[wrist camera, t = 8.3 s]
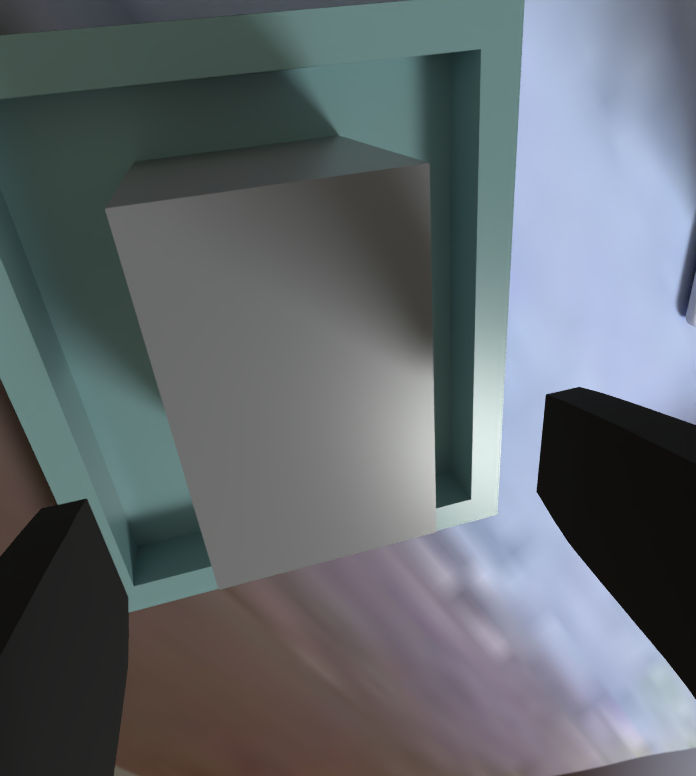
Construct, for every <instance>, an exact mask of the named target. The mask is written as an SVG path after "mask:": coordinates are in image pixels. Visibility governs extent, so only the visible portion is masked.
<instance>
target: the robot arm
mask: <svg viewBox="0 0 696 776" xmlns="http://www.w3.org/2000/svg"><path fill="white" fill-rule="evenodd" d="M686 320H687V323H689V324H690V325H692V326H694V327H696V273H695V277H694V282H693V286H692V291H691V295H690V300H689V304H688V309H687V313H686ZM537 493H538V495H539V496H540V498H541V500H542V501H543V503H544V505H545V506H546V508H547V510H548V511H549V513H550V515H551V516H552V518H553V520H554V521H555V523H556V524H557V526H558V527H559V529H560V530H561V532H562V533H563V535H564V536H565V538H566V539H567V541H568V542H569V544H570V545H571V546H572V547H573V549H574V550H575V551H576V552H577V554H578V555H579V556H580V557H581V559H582V560H583V561H584V562H585V563H586V565H587V566H588V567H589V568H590V570H591V571H592V572H593V573H594V574H595V576H596V577H597V578H598V579H599V580H600V582H601V583H602V584H603V585H604V586H605V588H606V589H607V590H608V591H609V592H610V594H611V595H612V596H613V597H614V598H615V600H616V601H617V602H618V603H619V604H620V606H621V607H622V608H623V609H624V610H625V612H626V613H627V614H628V615H629V616H630V617H631V619H632V620H633V621H634V622H635V623H636V625H637V626H638V627H639V628H640V629H641V631H642V632H643V633H644V634H645V635H646V637H647V638H648V639H649V640H650V641H651V643H652V644H653V645H654V646H655V647H656V648H657V650H658V651H659V652H660V653H661V654H662V656H663V657H664V658H665V659H666V661H667V662H668V663H669V664H670V666H671V667H672V668H673V670H674V671H675V672H676V673H677V675H678V676H679V677H680V679H681V680H682V681H683V682H684V684H685V685H686V686H687V688H688V689H689V690H690V692H691V693H692V695H693V696H694V698H695V699H696V425H694V424H691V423H688V422H685V421H682V420H680V419H677V418H674V417H671V416H668V415H665V414H662V413H660V412H657V411H654V410H651V409H648V408H645V407H642V406H640V405H637V404H634V403H631V402H628V401H625V400H622V399H619V398H616V397H613V396H610V395H606V394H603V393H600V392H596V391H593V390H589V389H585V388H581V387H577V388H573V389H569V390H564V391H560V392H555V393H551V394H546V400H545V410H544V420H543V431H542V441H541V452H540V462H539V472H538V483H537ZM128 638H129V609H128V595H127V593H126V590H125V588H124V586H123V583H122V581H121V578H120V576H119V574H118V571H117V569H116V566H115V564H114V562H113V559H112V557H111V554H110V552H109V550H108V547H107V545H106V543H105V540H104V538H103V535H102V533H101V531H100V528H99V526H98V523H97V521H96V519H95V516H94V514H93V511H92V509H91V507H90V504H89V502H88V500H87V498H86V499H82V500H77V501H73V502H68V503H64V504H60V505H55V506H51V507H46V508H42V509H41V510H40V511H39V512H38V513H37V514H36V515H35V516H34V517H33V519H32V520H31V521H30V522H29V523H28V524H27V525H26V527H25V528H24V529H23V530H22V531H21V532H20V534H19V535H18V536H17V537H16V538H15V540H14V541H13V542H12V543H11V544H10V546H9V547H8V548H7V549H6V550H5V552H4V553H3V554H2V555H1V556H0V776H114V768H115V761H116V754H117V747H118V739H119V732H120V724H121V717H122V709H123V701H124V693H125V686H126V678H127V669H128Z"/></svg>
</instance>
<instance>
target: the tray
mask: <svg viewBox="0 0 696 776" xmlns="http://www.w3.org/2000/svg"><path fill="white" fill-rule="evenodd" d="M523 18H524V0H410V1H398V2H386V3H375V4H363V5H351V6H339V7H328V8H316V9H304V10H292V11H280V12H269V13H257V14H245V15H233V16H221V17H210V18H198V19H186V20H174V21H163V22H151V23H139V24H127V25H115V26H104V27H92V28H80V29H68V30H56V31H45V32H33V33H21V34H9V35H0V379H1V381H2V383H3V385H4V387H5V390H6V392H7V394H8V396H9V398H10V401H11V403H12V405H13V407H14V409H15V412H16V414H17V416H18V418H19V420H20V423H21V425H22V427H23V429H24V431H25V433H26V436H27V438H28V440H29V442H30V444H31V447H32V449H33V451H34V453H35V455H36V458H37V460H38V462H39V464H40V466H41V469H42V471H43V473H44V475H45V477H46V480H47V482H48V484H49V486H50V488H51V491H52V493H53V495H54V497H55V499H56V502H57V504H58V505H60V504H64V503H68V502H73V501H77V500H82V499H86V498H87V500H88V502H89V504H90V507H91V509H92V511H93V514H94V516H95V519H96V521H97V523H98V526H99V528H100V531H101V533H102V535H103V538H104V540H105V543H106V545H107V547H108V550H109V552H110V554H111V557H112V559H113V562H114V564H115V566H116V569H117V571H118V574H119V576H120V578H121V581H122V583H123V586H124V588H125V590H126V593H127V595H128V609H129V612H132V611H136V610H140V609H144V608H147V607H151V606H155V605H159V604H163V603H166V602H170V601H174V600H178V599H181V598H185V597H189V596H193V595H196V594H200V593H204V592H208V591H211V590H215V589H218V586H217V583H216V580H215V576H214V573H213V570H212V566H211V563H210V559H209V556H208V553H207V549H206V546H205V543H204V539H203V536H202V533H201V529H200V526H199V523H198V519H197V516H196V513H195V509H194V506H193V503H192V499H191V496H190V493H189V489H188V486H187V483H186V479H185V476H184V472H183V469H182V466H181V462H180V459H179V456H178V452H177V449H176V446H175V442H174V439H173V436H172V432H171V429H170V426H169V422H168V419H167V416H166V412H165V409H164V406H163V402H162V399H161V396H160V392H159V389H158V385H157V382H156V379H155V375H154V372H153V369H152V365H151V362H150V359H149V355H148V352H147V349H146V345H145V342H144V339H143V335H142V332H141V329H140V325H139V322H138V319H137V315H136V312H135V308H134V305H133V302H132V298H131V295H130V292H129V288H128V285H127V282H126V278H125V275H124V272H123V268H122V265H121V262H120V258H119V255H118V252H117V248H116V245H115V242H114V238H113V235H112V232H111V228H110V225H109V221H108V218H107V215H106V211H105V207H106V206H107V204H108V202H109V201H110V199H111V198H112V196H113V195H114V193H115V191H116V190H117V188H118V187H119V185H120V184H121V182H122V181H123V179H124V177H125V176H126V174H127V173H128V171H129V170H130V168H131V166H132V165H133V163H134V162H135V161H143V160H151V159H159V158H167V157H175V156H183V155H191V154H198V153H206V152H214V151H222V150H230V149H238V148H246V147H253V146H261V145H269V144H277V143H285V142H293V141H301V140H309V139H316V138H324V137H332V136H342V137H346V138H349V139H352V140H356V141H359V142H362V143H365V144H369V145H372V146H375V147H379V148H382V149H385V150H388V151H392V152H395V153H398V154H402V155H405V156H408V157H411V158H415V159H418V160H421V161H425V162H428V163H430V215H431V269H432V323H433V377H434V431H435V485H436V531H437V530H441V529H445V528H449V527H452V526H456V525H460V524H464V523H468V522H471V521H475V520H479V519H483V518H486V517H490V516H494V515H497V511H498V492H499V473H500V454H501V435H502V416H503V397H504V378H505V360H506V341H507V322H508V303H509V284H510V265H511V246H512V227H513V208H514V189H515V170H516V151H517V132H518V113H519V94H520V75H521V56H522V37H523Z"/></svg>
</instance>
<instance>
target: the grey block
mask: <svg viewBox="0 0 696 776" xmlns="http://www.w3.org/2000/svg"><path fill="white" fill-rule="evenodd" d="M105 211H106V215H107V218H108V221H109V225H110V228H111V232H112V235H113V238H114V242H115V245H116V248H117V252H118V255H119V258H120V262H121V265H122V268H123V272H124V275H125V278H126V282H127V285H128V288H129V292H130V295H131V298H132V302H133V305H134V308H135V312H136V315H137V319H138V322H139V325H140V329H141V332H142V335H143V339H144V342H145V345H146V349H147V352H148V355H149V359H150V362H151V365H152V369H153V372H154V375H155V379H156V382H157V385H158V389H159V392H160V396H161V399H162V402H163V406H164V409H165V412H166V416H167V419H168V422H169V426H170V429H171V432H172V436H173V439H174V442H175V446H176V449H177V452H178V456H179V459H180V462H181V466H182V469H183V472H184V476H185V479H186V483H187V486H188V489H189V493H190V496H191V499H192V503H193V506H194V509H195V513H196V516H197V519H198V523H199V526H200V529H201V533H202V536H203V539H204V543H205V546H206V549H207V553H208V556H209V559H210V563H211V566H212V570H213V573H214V576H215V580H216V583H217V586H218V590H221V589H224V588H228V587H232V586H236V585H239V584H243V583H247V582H251V581H254V580H258V579H262V578H266V577H269V576H273V575H277V574H281V573H284V572H288V571H292V570H296V569H300V568H303V567H307V566H311V565H315V564H318V563H322V562H326V561H330V560H333V559H337V558H341V557H345V556H348V555H352V554H356V553H360V552H363V551H367V550H371V549H375V548H379V547H382V546H386V545H390V544H394V543H397V542H401V541H405V540H409V539H412V538H416V537H420V536H424V535H427V534H431V533H435V532H436V485H435V431H434V377H433V323H432V269H431V215H430V163H428V162H425V161H421V160H418V159H415V158H411V157H408V156H405V155H402V154H398V153H395V152H392V151H388V150H385V149H382V148H379V147H375V146H372V145H369V144H365V143H362V142H359V141H356V140H352V139H349V138H346V137H342V136H332V137H324V138H316V139H309V140H301V141H293V142H285V143H277V144H269V145H261V146H253V147H246V148H238V149H230V150H222V151H214V152H206V153H198V154H191V155H183V156H175V157H167V158H159V159H151V160H143V161H135V162H134V163H133V165H132V166H131V168H130V170H129V171H128V173H127V174H126V176H125V177H124V179H123V181H122V182H121V184H120V185H119V187H118V188H117V190H116V191H115V193H114V195H113V196H112V198H111V199H110V201H109V202H108V204H107V206H106V207H105Z"/></svg>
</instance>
